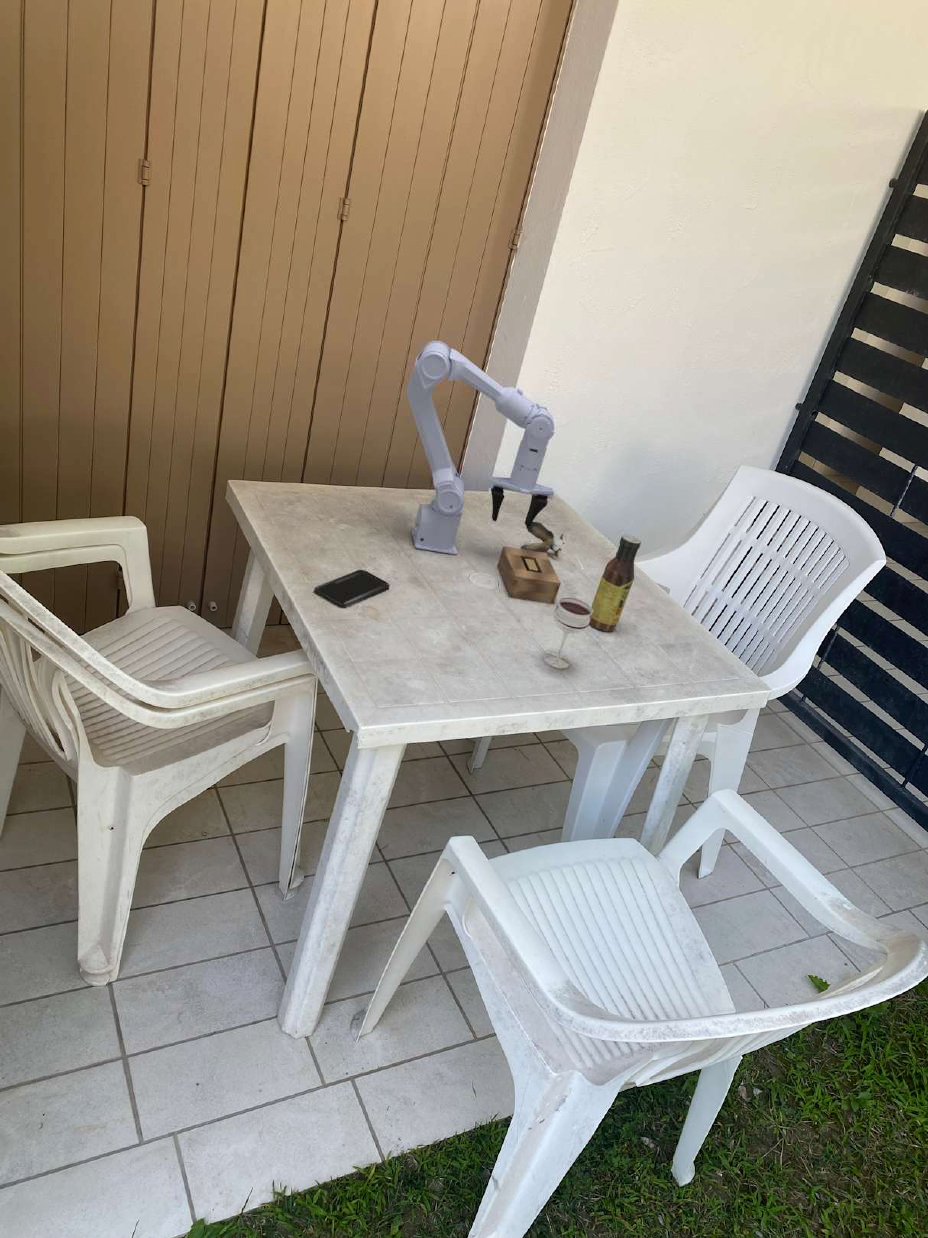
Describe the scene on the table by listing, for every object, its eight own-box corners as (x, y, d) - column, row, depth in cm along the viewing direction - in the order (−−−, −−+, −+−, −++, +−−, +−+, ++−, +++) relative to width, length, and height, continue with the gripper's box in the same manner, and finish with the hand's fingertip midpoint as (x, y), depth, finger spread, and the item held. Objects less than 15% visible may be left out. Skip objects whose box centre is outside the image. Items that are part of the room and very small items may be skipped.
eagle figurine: (555, 541, 223) (522, 528, 221) (569, 527, 217) (535, 513, 215) (551, 568, 219) (517, 554, 217) (565, 554, 213) (530, 540, 211)
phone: (392, 585, 184) (343, 606, 172) (390, 590, 184) (342, 611, 172) (361, 568, 187) (311, 587, 175) (360, 573, 187) (310, 592, 175)
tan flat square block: (523, 589, 198) (529, 569, 196) (518, 578, 203) (524, 558, 200) (531, 591, 199) (538, 570, 197) (527, 580, 203) (533, 559, 201)
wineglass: (544, 646, 179) (563, 593, 173) (577, 660, 177) (597, 606, 172) (534, 661, 173) (553, 606, 167) (568, 675, 172) (588, 620, 166)
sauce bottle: (614, 636, 190) (647, 550, 181) (585, 626, 190) (616, 540, 181) (616, 622, 196) (647, 538, 186) (587, 613, 196) (617, 528, 187)
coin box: (508, 597, 194) (515, 576, 191) (497, 566, 205) (503, 545, 203) (553, 603, 196) (560, 583, 194) (539, 572, 208) (546, 553, 205)
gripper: (498, 465, 193) (481, 524, 199) (563, 478, 196) (545, 535, 202) (492, 453, 199) (476, 510, 205) (556, 465, 202) (538, 522, 208)
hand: (510, 522), depth 204 cm, fingers open, 7 cm apart
